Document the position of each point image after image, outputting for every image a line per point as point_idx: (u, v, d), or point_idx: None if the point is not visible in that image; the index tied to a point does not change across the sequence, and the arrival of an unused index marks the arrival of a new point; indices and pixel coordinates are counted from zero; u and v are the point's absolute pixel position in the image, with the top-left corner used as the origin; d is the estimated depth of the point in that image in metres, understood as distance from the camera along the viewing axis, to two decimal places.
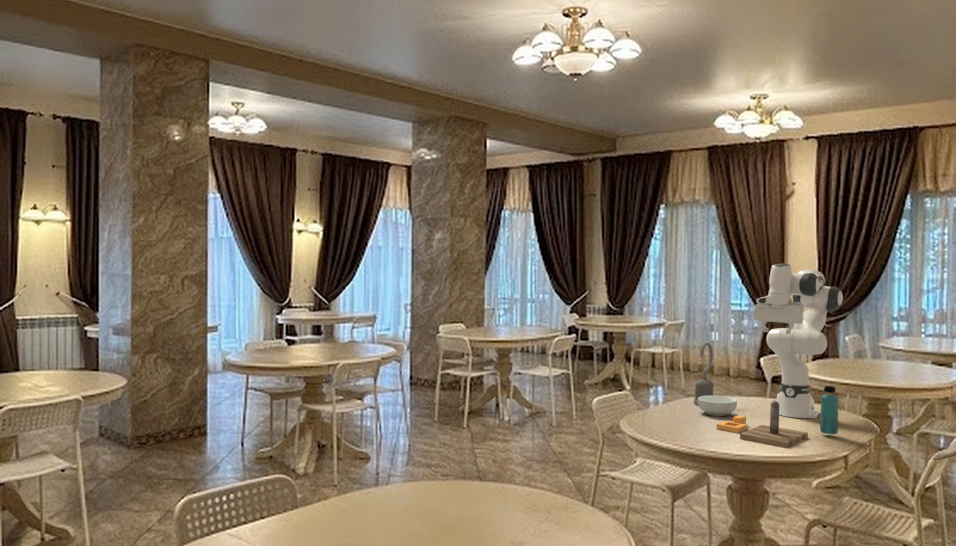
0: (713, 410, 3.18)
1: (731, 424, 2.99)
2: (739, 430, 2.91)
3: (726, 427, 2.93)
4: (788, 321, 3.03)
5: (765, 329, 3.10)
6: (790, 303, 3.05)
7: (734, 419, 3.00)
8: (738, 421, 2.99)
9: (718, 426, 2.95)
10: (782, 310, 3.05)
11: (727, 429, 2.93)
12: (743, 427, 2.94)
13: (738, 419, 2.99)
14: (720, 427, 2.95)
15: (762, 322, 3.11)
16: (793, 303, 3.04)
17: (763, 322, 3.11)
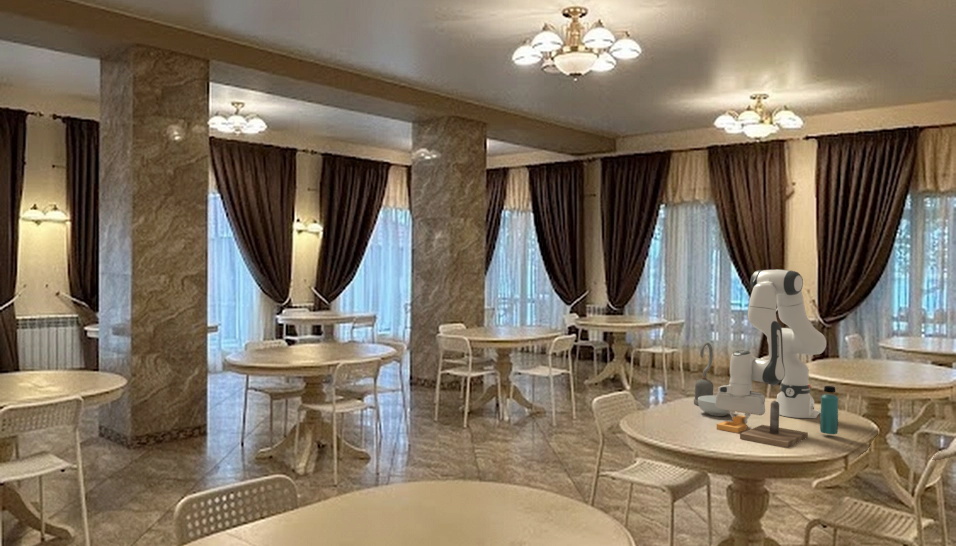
0: (713, 410, 3.18)
1: (731, 424, 2.99)
2: (739, 430, 2.91)
3: (726, 427, 2.93)
4: (750, 412, 2.97)
5: None
6: (751, 393, 2.97)
7: (734, 419, 3.00)
8: (738, 421, 2.99)
9: (718, 426, 2.95)
10: (743, 400, 2.98)
11: (727, 429, 2.93)
12: (743, 427, 2.94)
13: (738, 419, 2.99)
14: (720, 427, 2.95)
15: (730, 411, 3.03)
16: (754, 393, 2.97)
17: (731, 412, 3.03)
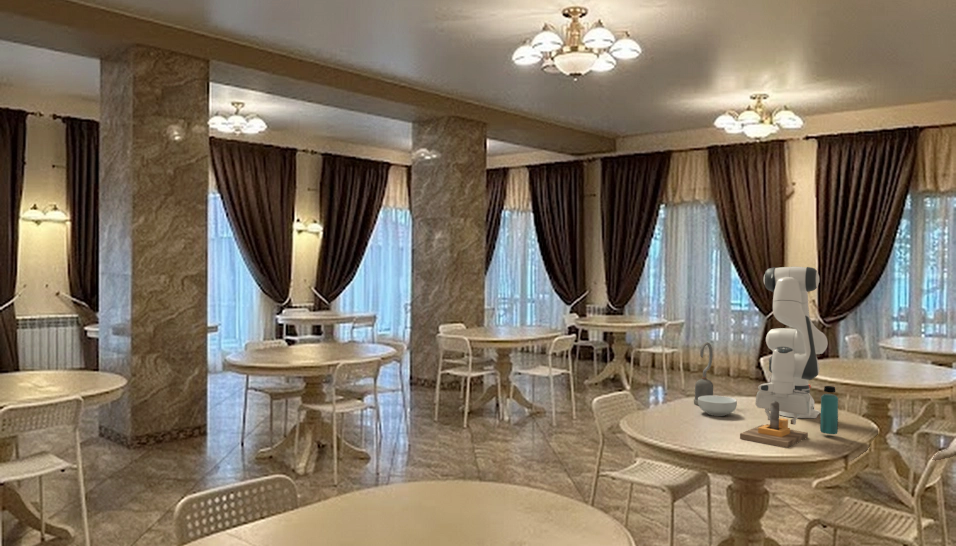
0: (713, 410, 3.18)
1: None
2: (783, 434, 2.77)
3: (769, 431, 2.79)
4: (793, 411, 2.83)
5: (769, 418, 2.90)
6: (794, 392, 2.84)
7: None
8: (780, 424, 2.85)
9: (760, 430, 2.81)
10: (786, 399, 2.85)
11: (770, 433, 2.79)
12: (786, 431, 2.80)
13: (780, 422, 2.85)
14: (762, 431, 2.81)
15: (766, 410, 2.91)
16: (798, 392, 2.83)
17: (767, 410, 2.90)
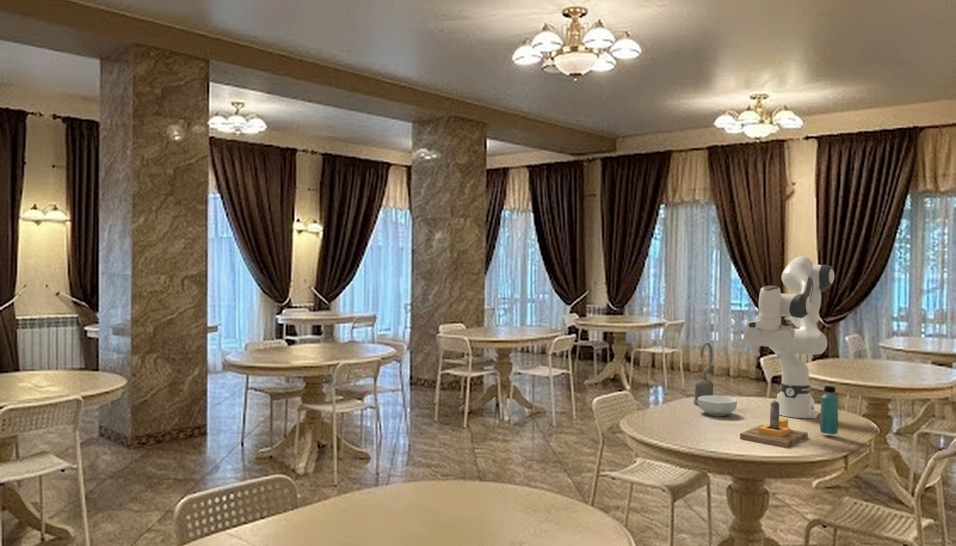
0: (713, 410, 3.18)
1: None
2: (783, 434, 2.77)
3: (769, 431, 2.79)
4: (779, 346, 2.97)
5: (756, 353, 3.04)
6: (780, 327, 2.97)
7: None
8: (780, 424, 2.85)
9: (760, 430, 2.81)
10: (773, 335, 2.99)
11: (770, 433, 2.79)
12: (786, 431, 2.80)
13: (780, 422, 2.85)
14: (762, 431, 2.81)
15: (753, 346, 3.05)
16: (784, 327, 2.97)
17: (754, 346, 3.04)
